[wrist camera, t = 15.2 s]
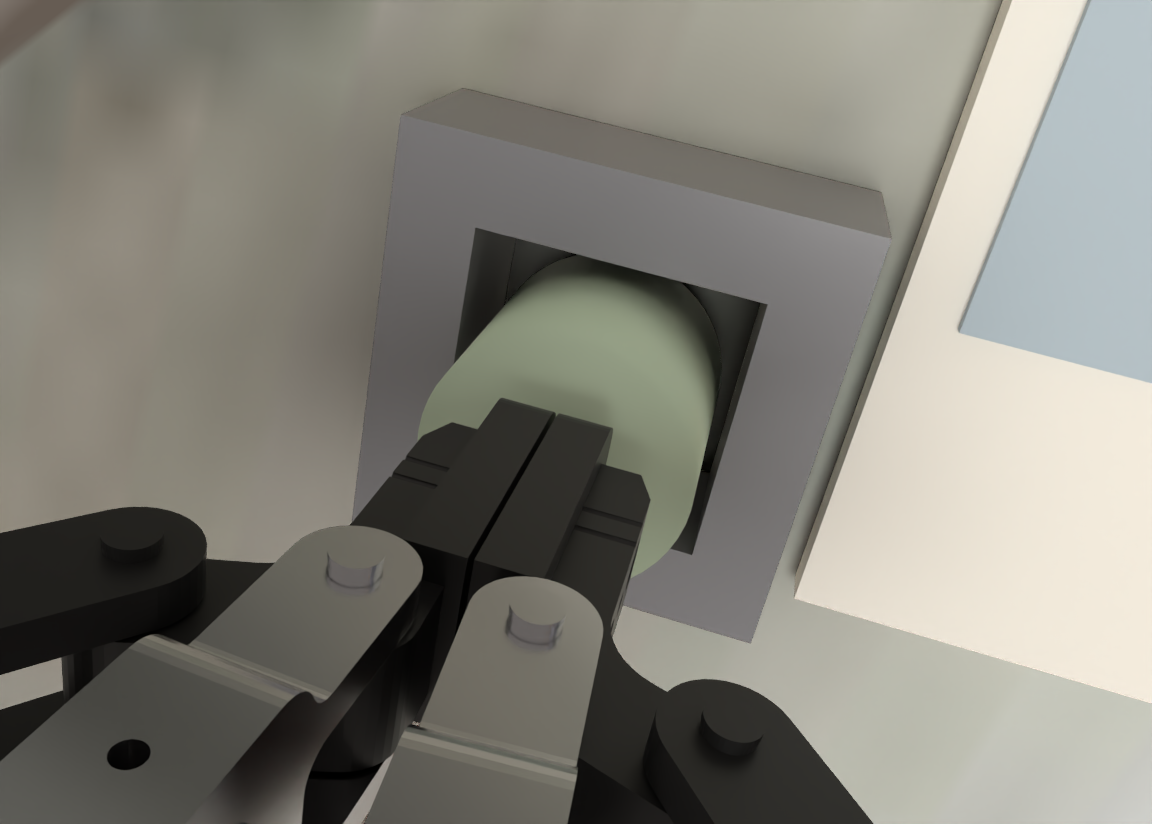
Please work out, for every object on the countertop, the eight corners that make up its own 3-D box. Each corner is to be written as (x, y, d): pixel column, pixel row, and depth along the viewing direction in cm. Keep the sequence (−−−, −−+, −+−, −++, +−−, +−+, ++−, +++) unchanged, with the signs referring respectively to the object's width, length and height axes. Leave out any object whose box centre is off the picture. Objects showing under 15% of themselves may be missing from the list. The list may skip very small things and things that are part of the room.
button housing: (410, 451, 21) (351, 524, 19) (462, 88, 18) (400, 114, 16) (760, 552, 21) (750, 643, 18) (881, 192, 17) (891, 238, 15)
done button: (479, 432, 19) (401, 546, 16) (516, 226, 17) (437, 301, 14) (689, 493, 19) (658, 623, 15) (749, 287, 17) (729, 381, 13)
